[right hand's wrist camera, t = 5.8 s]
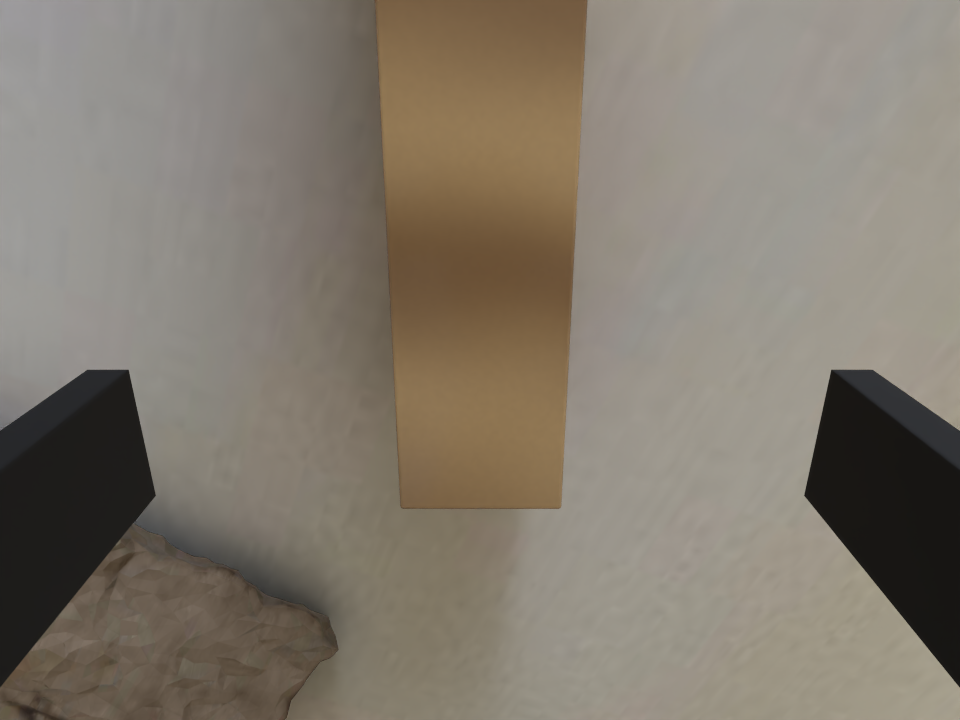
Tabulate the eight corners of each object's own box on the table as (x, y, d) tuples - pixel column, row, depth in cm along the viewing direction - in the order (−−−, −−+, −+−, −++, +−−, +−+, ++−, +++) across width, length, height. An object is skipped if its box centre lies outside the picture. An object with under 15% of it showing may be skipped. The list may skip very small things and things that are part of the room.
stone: (-260, 643, 28) (-394, 759, 23) (-78, 366, 27) (-172, 417, 22) (193, 781, 36) (175, 893, 31) (347, 570, 35) (357, 646, 30)
